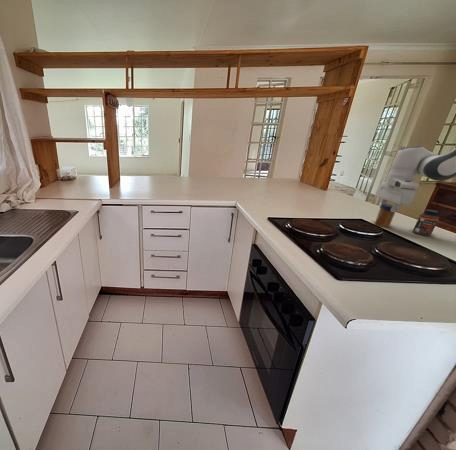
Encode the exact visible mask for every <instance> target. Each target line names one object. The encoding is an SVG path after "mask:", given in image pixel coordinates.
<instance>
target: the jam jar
mask: <svg viewBox="0 0 456 450" xmlns="http://www.w3.org/2000/svg"><path fill="white" fill-rule="evenodd" d="M395 215H396V212H391V211H389V210H384V209H381V208H379V210H378V213H377V215H376V218H375V221H374V225H375V226H377V227H381V228H390V227H391V225H392V222H393V219H394V216H395Z"/></svg>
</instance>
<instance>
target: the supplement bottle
mask: <svg viewBox="0 0 456 450" xmlns="http://www.w3.org/2000/svg"><path fill="white" fill-rule="evenodd" d="M438 215H439V211H438V210H434V209H425V211H424V212H422V213H421V214H420V215H419V216H418V219H417V220H416V223H415V224H414V226H413V230H412V233H414V234H416V235H420V236H424V237H425V236H426V237H429V236H431V235H432V234H433V232H434V230H435V228H436V226H437V224H438V222H439V219H440V217H439V216H438Z"/></svg>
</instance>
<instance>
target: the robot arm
mask: <svg viewBox="0 0 456 450" xmlns="http://www.w3.org/2000/svg"><path fill="white" fill-rule="evenodd" d="M416 175H419V176H421V177H425V178H427V179H430V180H432V181H437V182H442V181H447V180H451V179H453V178H455V177H456V147H455V148H454V149H452V150H451V151H449V152H447V153H445V154H441V155H440V154H437V153H434V152H433V151H429V150H428V149H426V148H425V146H422V145H415V146H413V145H412V146H405V147H401V148H400V149H399V150H398V151H397V152H396V154H395V157H394V158H393V160H392V162H391V168H390V171H389V172H388V174H387V177H386V179H385V180H383V181H382V182H381V183H380V185H379V186H378V189H377V190H376V193H375V196H376V197H378V198H380V205H381V204H388V203H387V202H390V203H392V205H393V206H392V208H390V210H389V211H391V212H395V213H396V212H397V211H396V209H397V210H398V209H399V207H401V206H406V207H409V206H411V204H412V202H413V200H414V198H415V195H416V193H417V191H416V190H418V189H419V188H420V184H419V183H418V182H417V181H416V180H415V179H414V178H415V176H416Z"/></svg>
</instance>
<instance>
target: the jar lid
mask: <svg viewBox="0 0 456 450" xmlns="http://www.w3.org/2000/svg"><path fill="white" fill-rule="evenodd" d="M392 206H393V204H390V203H386V204H381V203H380V206H379V209H384V210H390V208H392ZM397 211H398V208H397V209H396V212H397Z"/></svg>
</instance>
